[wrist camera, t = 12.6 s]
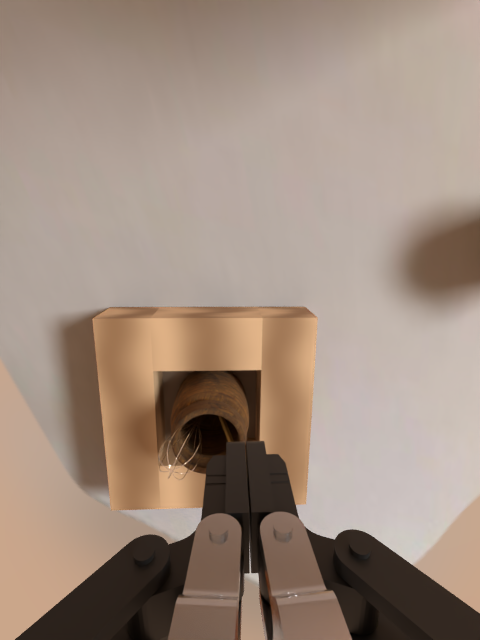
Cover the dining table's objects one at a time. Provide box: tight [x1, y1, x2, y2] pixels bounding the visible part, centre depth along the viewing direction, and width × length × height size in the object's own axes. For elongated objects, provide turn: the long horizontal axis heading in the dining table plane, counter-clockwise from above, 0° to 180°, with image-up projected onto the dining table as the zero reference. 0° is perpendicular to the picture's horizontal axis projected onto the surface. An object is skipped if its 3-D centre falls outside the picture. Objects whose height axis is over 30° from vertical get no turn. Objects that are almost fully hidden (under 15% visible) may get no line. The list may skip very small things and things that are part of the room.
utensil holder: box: [158, 370, 249, 480], centre depth 24 cm, size 6×6×12 cm
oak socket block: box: [92, 307, 318, 510], centre depth 28 cm, size 16×16×4 cm
